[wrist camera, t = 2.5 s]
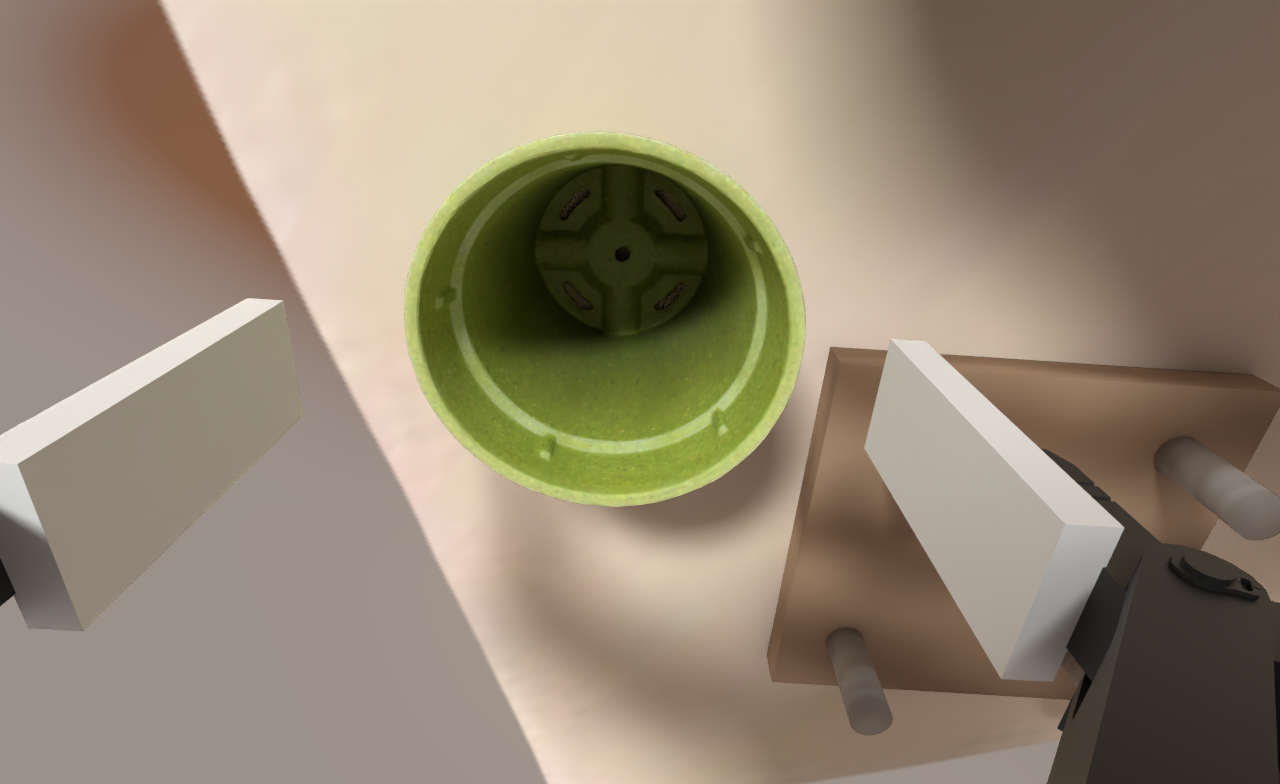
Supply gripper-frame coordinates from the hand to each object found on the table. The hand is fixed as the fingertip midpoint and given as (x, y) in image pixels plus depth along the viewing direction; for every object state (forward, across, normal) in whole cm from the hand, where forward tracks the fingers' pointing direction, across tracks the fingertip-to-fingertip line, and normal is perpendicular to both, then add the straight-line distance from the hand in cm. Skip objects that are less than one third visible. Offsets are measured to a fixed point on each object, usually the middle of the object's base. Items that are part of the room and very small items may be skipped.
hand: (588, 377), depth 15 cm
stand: (+10, +16, -11) cm, 22 cm away
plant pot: (+10, 0, 0) cm, 10 cm away
